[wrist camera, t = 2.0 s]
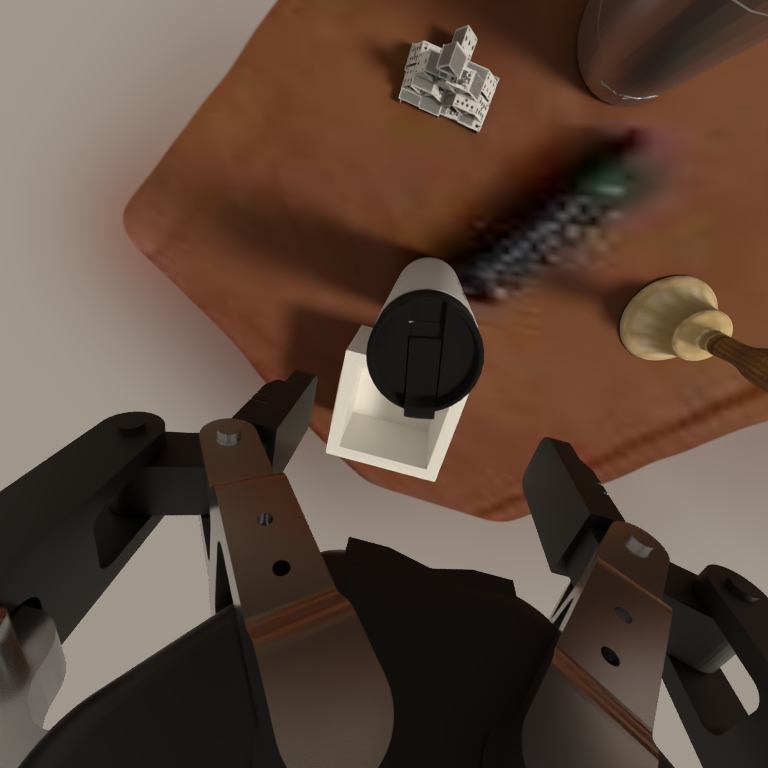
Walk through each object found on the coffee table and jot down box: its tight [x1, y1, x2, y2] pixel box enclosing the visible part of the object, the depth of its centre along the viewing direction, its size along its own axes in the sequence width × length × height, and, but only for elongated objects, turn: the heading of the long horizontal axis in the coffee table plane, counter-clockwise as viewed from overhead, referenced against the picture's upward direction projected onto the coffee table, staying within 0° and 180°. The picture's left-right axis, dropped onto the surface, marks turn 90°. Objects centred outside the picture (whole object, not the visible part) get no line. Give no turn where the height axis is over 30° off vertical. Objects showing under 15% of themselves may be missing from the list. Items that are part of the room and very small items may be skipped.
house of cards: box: [399, 25, 499, 133], centre depth 25 cm, size 9×9×8 cm
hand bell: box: [620, 276, 768, 392], centre depth 28 cm, size 8×8×16 cm
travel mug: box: [366, 257, 484, 419], centre depth 27 cm, size 6×7×20 cm
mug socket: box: [326, 325, 469, 482], centre depth 37 cm, size 11×12×8 cm
